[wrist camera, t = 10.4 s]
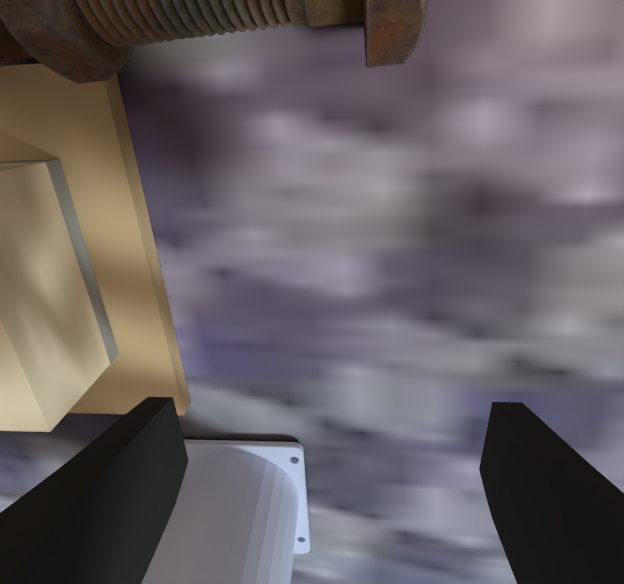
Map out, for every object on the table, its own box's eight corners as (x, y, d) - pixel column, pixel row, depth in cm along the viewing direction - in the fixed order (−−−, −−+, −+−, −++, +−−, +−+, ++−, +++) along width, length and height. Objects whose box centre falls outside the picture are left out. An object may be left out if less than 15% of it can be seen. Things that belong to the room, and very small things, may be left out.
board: (190, 402, 22) (183, 415, 21) (18, 399, 22) (4, 411, 21) (114, 62, 15) (98, 59, 14) (-132, 76, 15) (-162, 75, 15)
